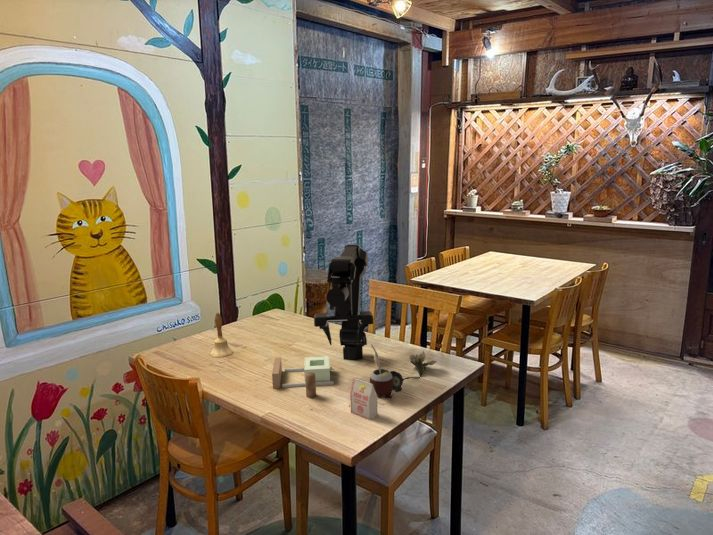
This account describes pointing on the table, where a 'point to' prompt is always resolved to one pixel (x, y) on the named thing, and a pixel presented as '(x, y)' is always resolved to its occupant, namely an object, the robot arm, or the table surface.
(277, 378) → the guide board
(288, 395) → the table surface
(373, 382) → the mate gourd
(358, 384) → the tea bag
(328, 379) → the sliding block
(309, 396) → the walnut peg
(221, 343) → the hand bell
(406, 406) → the table surface
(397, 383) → the artificial flower
